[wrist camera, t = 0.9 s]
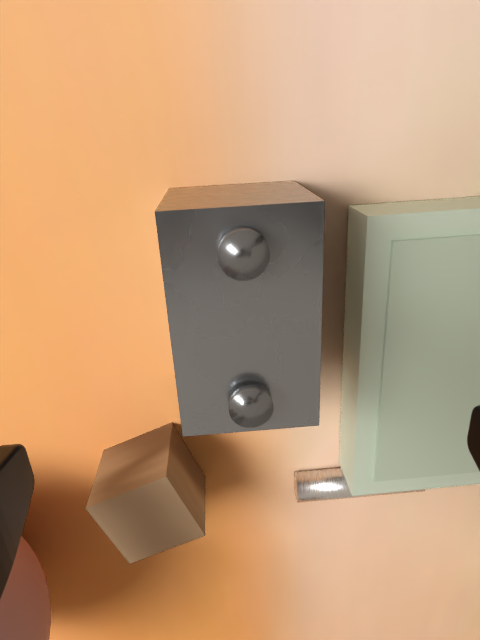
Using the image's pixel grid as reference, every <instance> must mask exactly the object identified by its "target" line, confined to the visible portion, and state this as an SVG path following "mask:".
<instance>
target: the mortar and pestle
mask: <svg viewBox="0 0 480 640" xmlns="http://www.w3.org/2000/svg"><path fill="white" fill-rule="evenodd" d="M50 625H51V606H50V596H49V589H48V585H47V581H46V577H45V574H44V571H43V569H42V566H41V564H40V562H39V560H38V558H37V556H36V554H35V553H34V551H33V550H32V548H31V547H30V545H29V544H28V543H27V541H26V540H25V539H24V538H23V537H22V536H21V539H20V543H19V547H18V550H17V554H16V557H15V561H14V564H13V567H12V570H11V573H10V575H9V578H8V581H7V584H6V586H5V589H4V591H3V594H2V597H1V599H0V640H49V635H50Z"/></svg>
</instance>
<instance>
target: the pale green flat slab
mask: <svg viewBox="0 0 480 640" xmlns="http://www.w3.org/2000/svg"><path fill="white" fill-rule="evenodd" d="M478 405H480V196H477V197H462V198H448V199H434V200H420V201H406V202H391V203H377V204H363V205H349V212H348V238H347V264H346V290H345V316H344V342H343V368H342V394H341V420H340V446H339V464H340V466H341V469H342V471H343V474H344V477H345V479H346V482H347V484H348V487H349V489H350V492H351V495H352V496H358V495H369V494H379V493H390V492H400V491H411V490H422V489H432V488H443V487H454V486H464V485H475V484H480V471H479V469H478V467H477V465H476V463H475V461H474V459H473V458H472V456H471V454H470V451H469V449H468V445H467V435H468V430H469V424H470V419H471V413H472V410H473V408H474V407H476V406H478Z"/></svg>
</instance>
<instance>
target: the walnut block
mask: <svg viewBox="0 0 480 640" xmlns="http://www.w3.org/2000/svg"><path fill="white" fill-rule="evenodd" d="M85 509H86V510H87V511H88V512H89V514H90V515H91V516H92V517H93V519H94V520H95V521H96V522H97V524H98V525H99V526H100V527H101V529H102V530H103V531H104V532H105V534H106V535H107V536H108V537H109V539H110V540H111V541H112V542H113V544H114V545H115V546H116V547H117V549H118V550H119V551H120V552H121V554H122V555H123V556H124V557H125V559H126V560H127V561H128V563H129V564H131V563H133V562H136V561H139V560H141V559H144V558H147V557H149V556H152V555H155V554H157V553H160V552H163V551H165V550H168V549H171V548H173V547H176V546H179V545H181V544H184V543H187V542H189V541H192V540H195V539H197V538H200V537H203V536H205V475H204V473H203V472H202V470H201V468H200V467H199V465H198V464H197V462H196V460H195V459H194V457H193V455H192V454H191V452H190V450H189V449H188V447H187V446H186V444H185V442H184V441H183V439H182V437H181V436H180V434H179V433H178V431H177V429H176V428H175V426H174V424H173V423H169V424H167V425H164V426H162V427H160V428H157V429H155V430H152V431H150V432H147V433H145V434H142V435H140V436H137V437H135V438H132V439H130V440H127V441H125V442H123V443H120V444H118V445H115V446H113V447H110V448H108V449H105V450H104V451H103V454H102V457H101V461H100V464H99V467H98V470H97V473H96V477H95V480H94V483H93V486H92V489H91V492H90V496H89V499H88V502H87V505H86V508H85Z"/></svg>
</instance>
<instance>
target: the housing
mask: <svg viewBox="0 0 480 640" xmlns="http://www.w3.org/2000/svg"><path fill="white" fill-rule="evenodd" d="M324 215H325V201H324V200H323V199H321V198H320V197H318V196H317V195H315V194H313V193H312V192H310V191H309V190H307V189H306V188H304V187H303V186H301V185H300V184H298V183H297V182H295V181H279V182H262V183H245V184H228V185H212V186H195V187H178V188H169V189H168V191H167V192H166V194H165V196H164V197H163V199H162V201H161V202H160V204H159V205H158V207H157V209H156V210H155V217H156V225H157V233H158V241H159V249H160V257H161V265H162V273H163V281H164V289H165V297H166V305H167V314H168V322H169V330H170V338H171V346H172V354H173V362H174V370H175V378H176V386H177V394H178V402H179V410H180V418H181V426H182V435H183V436H196V435H208V434H220V433H233V432H245V431H257V430H269V429H282V428H294V427H306V426H318V425H319V410H320V371H321V332H322V293H323V254H324Z"/></svg>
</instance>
